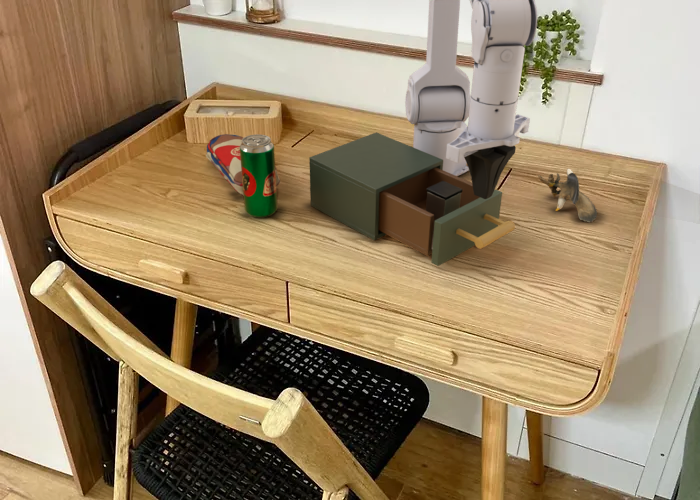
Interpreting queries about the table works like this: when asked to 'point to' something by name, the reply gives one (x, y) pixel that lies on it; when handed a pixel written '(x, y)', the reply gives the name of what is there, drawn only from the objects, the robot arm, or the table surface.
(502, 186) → the table surface
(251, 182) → the soda can
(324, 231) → the table surface
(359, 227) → the cabinet
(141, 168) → the table surface
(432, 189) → the metal-capped square post
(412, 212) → the drawer
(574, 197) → the eagle figurine
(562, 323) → the table surface
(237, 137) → the pencil case
